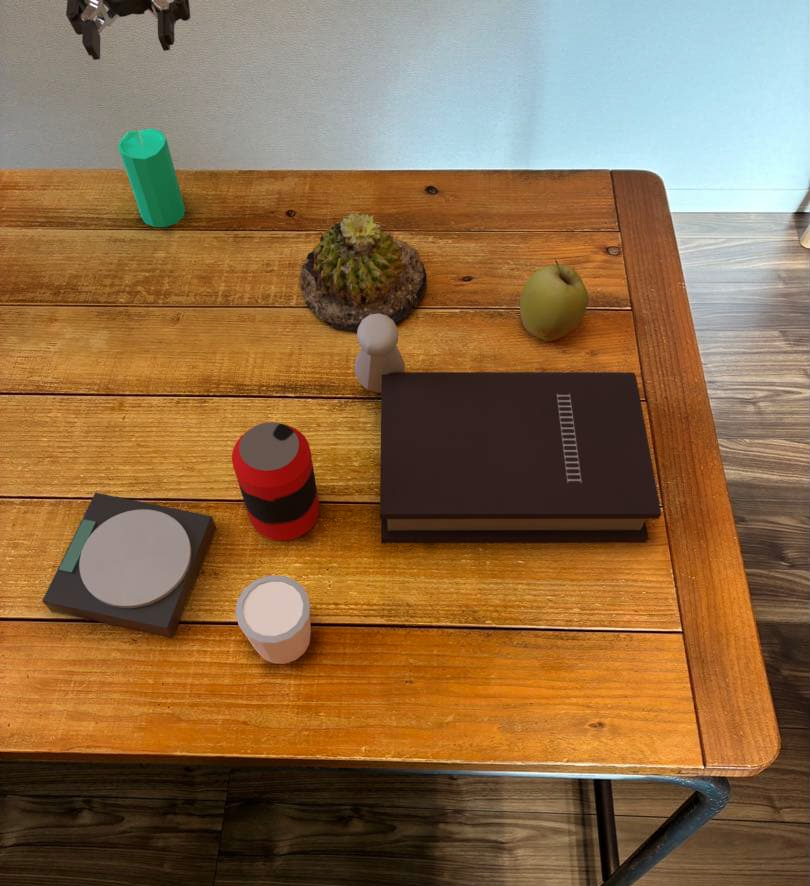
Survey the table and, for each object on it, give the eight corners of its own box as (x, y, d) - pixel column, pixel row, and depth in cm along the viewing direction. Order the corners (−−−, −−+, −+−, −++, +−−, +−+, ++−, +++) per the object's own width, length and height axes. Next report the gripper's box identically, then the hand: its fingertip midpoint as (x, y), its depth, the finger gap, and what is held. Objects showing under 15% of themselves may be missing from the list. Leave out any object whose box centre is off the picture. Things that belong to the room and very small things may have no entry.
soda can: (333, 504, 89) (325, 437, 78) (290, 554, 86) (275, 492, 75) (279, 471, 91) (263, 402, 80) (234, 519, 88) (212, 454, 77)
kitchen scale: (50, 611, 82) (39, 598, 80) (102, 504, 88) (93, 489, 86) (172, 638, 81) (165, 626, 78) (216, 527, 87) (210, 512, 84)
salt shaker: (348, 362, 97) (340, 315, 84) (392, 344, 97) (391, 294, 84) (367, 406, 96) (362, 365, 83) (412, 388, 96) (414, 343, 83)
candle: (192, 202, 112) (171, 120, 102) (174, 231, 110) (150, 150, 99) (151, 194, 113) (126, 112, 103) (133, 222, 110) (105, 141, 100)
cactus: (415, 341, 100) (417, 280, 92) (288, 326, 101) (277, 264, 93) (435, 245, 108) (438, 181, 100) (317, 231, 110) (310, 167, 101)
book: (621, 397, 96) (633, 363, 91) (645, 542, 87) (661, 513, 81) (382, 397, 96) (381, 363, 91) (381, 543, 86) (379, 514, 81)
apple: (506, 343, 99) (524, 264, 92) (520, 313, 104) (537, 238, 97) (570, 360, 97) (593, 282, 91) (581, 329, 103) (603, 253, 96)
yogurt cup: (237, 661, 80) (224, 633, 74) (260, 599, 83) (249, 567, 77) (305, 677, 79) (297, 650, 73) (325, 614, 82) (319, 583, 76)
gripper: (57, -80, 97) (54, 30, 93) (174, -96, 97) (177, 13, 93) (85, -22, 105) (84, 82, 100) (195, -37, 104) (198, 67, 100)
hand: (128, 49), depth 97 cm, fingers open, 8 cm apart
